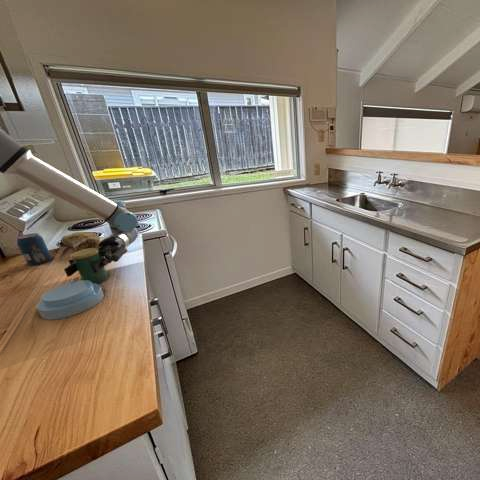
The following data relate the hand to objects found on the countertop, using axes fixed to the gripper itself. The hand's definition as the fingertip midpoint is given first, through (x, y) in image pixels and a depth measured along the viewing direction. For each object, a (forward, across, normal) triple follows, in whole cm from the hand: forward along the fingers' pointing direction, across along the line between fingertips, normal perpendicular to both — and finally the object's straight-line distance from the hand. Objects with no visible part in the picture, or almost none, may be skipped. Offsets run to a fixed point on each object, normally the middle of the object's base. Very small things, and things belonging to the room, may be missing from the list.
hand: (80, 270), depth 82 cm
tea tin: (-5, 0, -6) cm, 8 cm away
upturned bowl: (+9, -1, -6) cm, 12 cm away
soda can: (-29, +30, -7) cm, 42 cm away
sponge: (-45, +23, -7) cm, 51 cm away
